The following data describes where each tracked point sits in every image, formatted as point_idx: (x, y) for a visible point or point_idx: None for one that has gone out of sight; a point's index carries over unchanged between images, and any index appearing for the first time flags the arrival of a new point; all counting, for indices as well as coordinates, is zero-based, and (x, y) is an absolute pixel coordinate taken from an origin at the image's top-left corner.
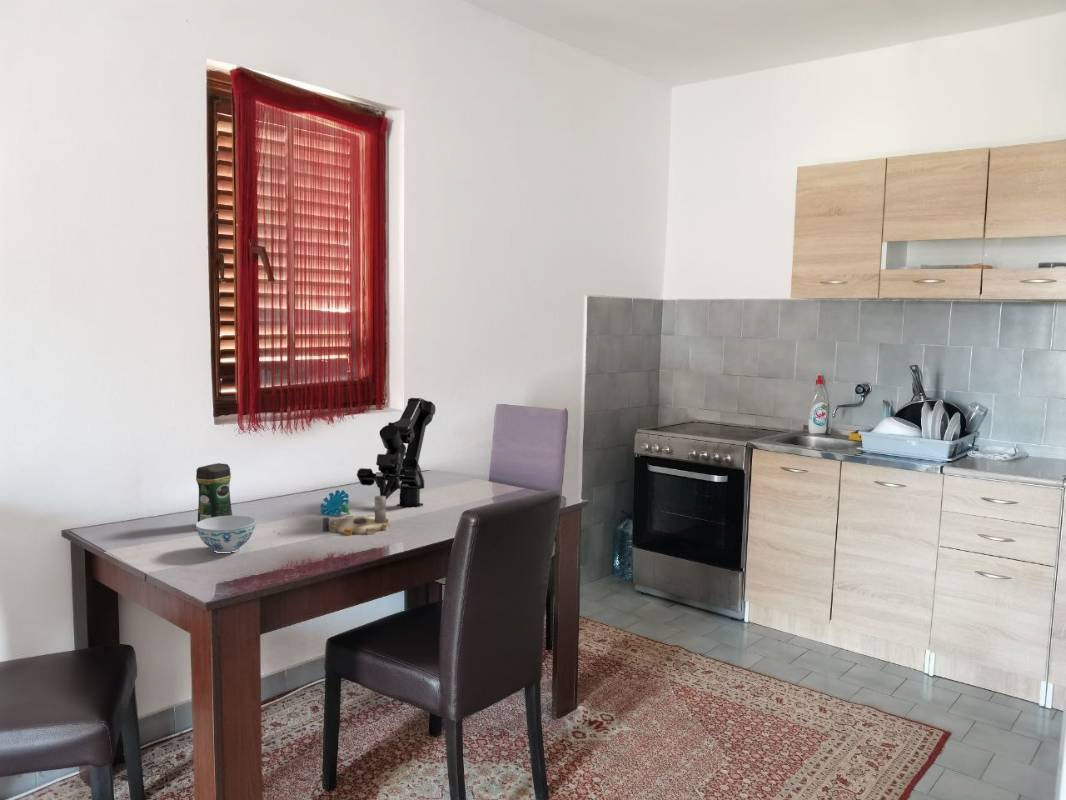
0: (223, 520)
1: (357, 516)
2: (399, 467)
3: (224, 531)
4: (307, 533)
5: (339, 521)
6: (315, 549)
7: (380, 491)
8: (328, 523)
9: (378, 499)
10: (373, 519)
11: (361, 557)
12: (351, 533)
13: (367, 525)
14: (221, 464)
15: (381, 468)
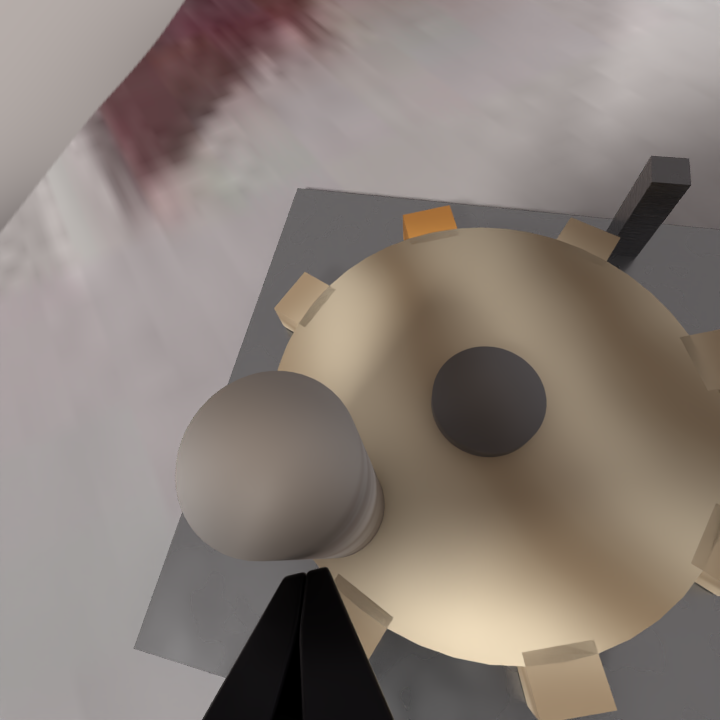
0: None
1: (673, 598)
2: None
3: None
4: (708, 198)
5: (658, 353)
6: (426, 47)
7: (365, 693)
8: (628, 212)
9: (261, 381)
10: (438, 550)
11: (180, 60)
12: (404, 239)
13: (365, 349)
14: None
15: None
